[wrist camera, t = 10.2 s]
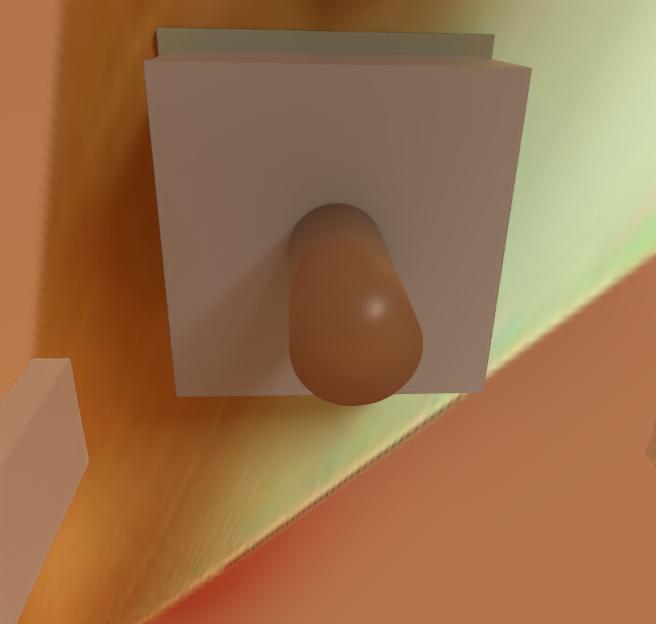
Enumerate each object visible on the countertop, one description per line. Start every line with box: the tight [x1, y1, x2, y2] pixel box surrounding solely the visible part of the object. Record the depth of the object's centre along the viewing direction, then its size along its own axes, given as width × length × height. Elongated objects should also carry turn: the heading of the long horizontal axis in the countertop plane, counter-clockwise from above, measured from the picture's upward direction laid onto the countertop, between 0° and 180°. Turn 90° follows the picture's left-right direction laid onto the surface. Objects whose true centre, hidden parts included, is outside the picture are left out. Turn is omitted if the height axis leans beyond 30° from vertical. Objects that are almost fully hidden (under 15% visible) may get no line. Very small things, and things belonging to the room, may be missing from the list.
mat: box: [156, 27, 494, 59], centre depth 31 cm, size 15×15×1 cm
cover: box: [143, 50, 532, 406], centre depth 24 cm, size 13×13×16 cm
